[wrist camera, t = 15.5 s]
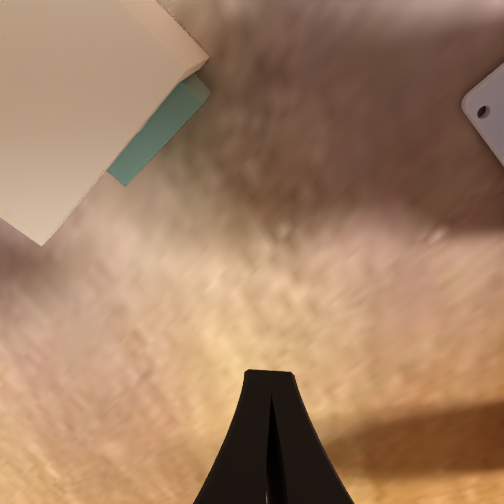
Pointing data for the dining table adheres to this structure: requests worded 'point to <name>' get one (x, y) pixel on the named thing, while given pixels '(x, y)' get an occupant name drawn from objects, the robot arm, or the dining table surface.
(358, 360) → the dining table surface
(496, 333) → the dining table surface
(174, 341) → the dining table surface
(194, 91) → the teal block
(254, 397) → the robot arm
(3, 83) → the beige flanged peg
